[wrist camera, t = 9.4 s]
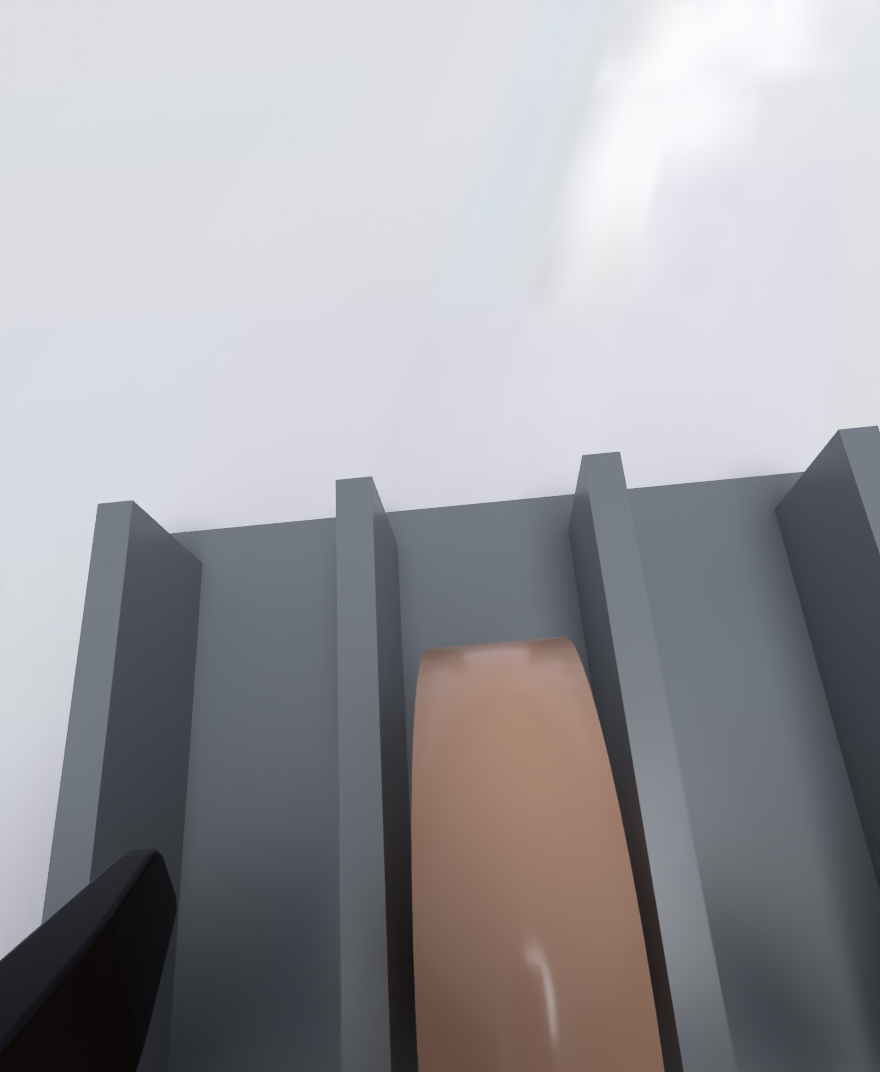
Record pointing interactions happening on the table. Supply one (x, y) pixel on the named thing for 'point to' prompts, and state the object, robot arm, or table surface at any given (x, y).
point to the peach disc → (522, 871)
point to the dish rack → (387, 749)
